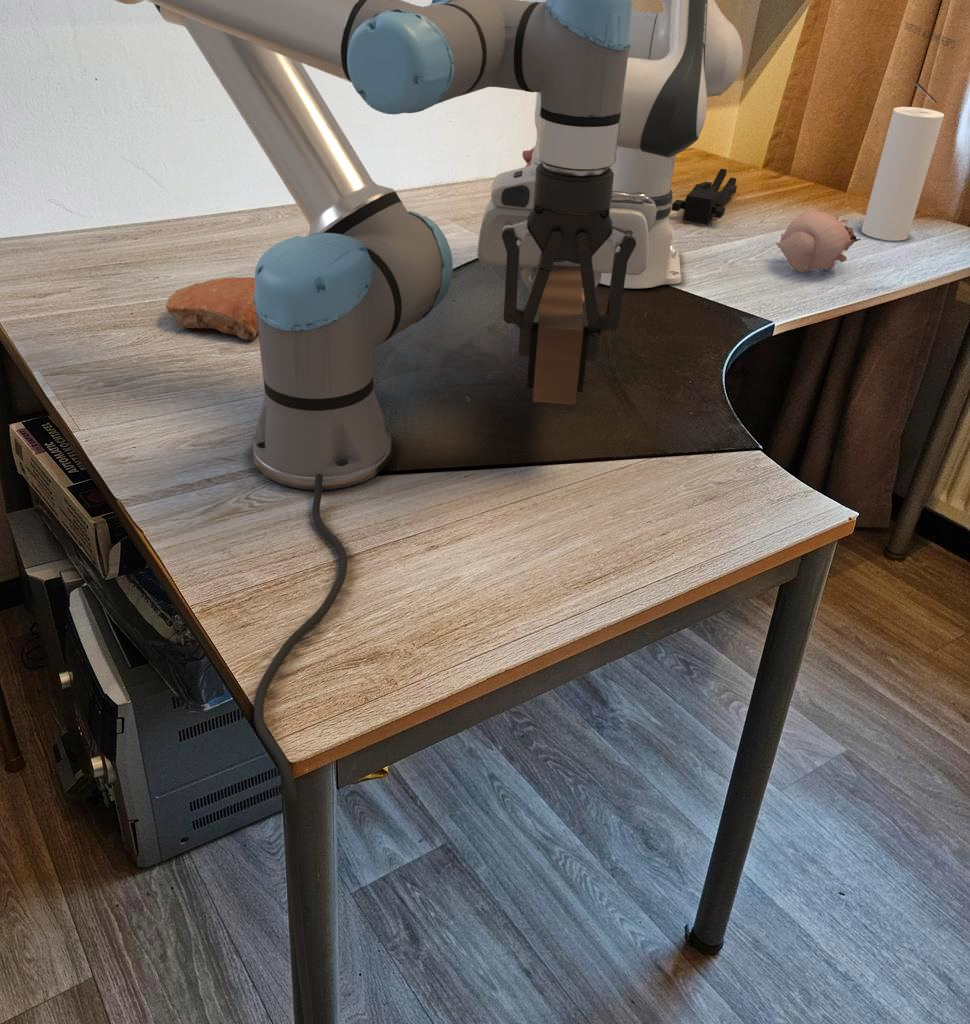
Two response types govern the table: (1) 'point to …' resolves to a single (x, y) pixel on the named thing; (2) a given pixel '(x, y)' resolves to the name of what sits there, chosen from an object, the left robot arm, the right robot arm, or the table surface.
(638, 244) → the right robot arm
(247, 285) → the ceramic shard
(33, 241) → the table surface
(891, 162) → the tall white tube
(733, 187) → the toy
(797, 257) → the toy
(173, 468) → the table surface
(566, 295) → the bar
